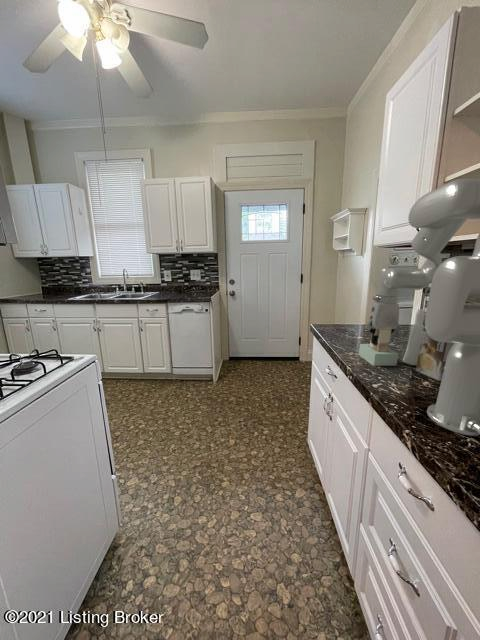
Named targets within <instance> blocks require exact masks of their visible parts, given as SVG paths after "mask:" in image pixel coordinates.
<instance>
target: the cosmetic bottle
mask: <svg viewBox="0 0 480 640" xmlns="http://www.w3.org/2000/svg"><path fill="white" fill-rule="evenodd" d="M425 315H426V310H425V309H417V311H416V313H415V320H414V323H413V324H412V326H411V331H410V335H409V338H408V343H407V345H406V351H405V353H404V355H403V359H402V362H403V363H404V364H408V365H410V366H417V360H418V355H419V350H420V345H421V339H422V334H423V331H424V329H425V324H424V322H425Z"/></svg>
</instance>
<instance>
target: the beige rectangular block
mask: <svg viewBox="0 0 480 640" xmlns="http://www.w3.org/2000/svg"><path fill="white" fill-rule="evenodd" d="M391 328H392V327H382V328H381V329H379V331H378V334H377V336H378V340H377V345H374V344H372V343H371V340H370V341H369V342H370V343H369V344H370V348H372V349H373V350H375V351H377V352H388V348H389V347H390V346H389V344H390V341H391V340H390V339H391V336H390V334H391ZM391 335H392V334H391ZM371 337H372V334H371ZM371 337H370V338H371Z"/></svg>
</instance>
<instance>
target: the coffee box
mask: <svg viewBox="0 0 480 640" xmlns="http://www.w3.org/2000/svg"><path fill="white" fill-rule="evenodd" d="M454 344H455V343H447V342H438V341H435V340H433V339H432V338H430V337H429V336H428V334H427V332H426V330H423V334H422V339H421V345H420V350H419V355H418V360H417V365H415V366H416V367H415V371H416V372H417V373H420V374H423V375H425V376H427V377H429V378H432V379H434V380H436V381H439V382H441V381H442V376H443V372H444V368H445V363H446V359H447V355H448V353H449V351H450V349H451V348H452V346H453V345H454Z"/></svg>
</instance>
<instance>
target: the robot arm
mask: <svg viewBox="0 0 480 640" xmlns="http://www.w3.org/2000/svg"><path fill="white" fill-rule="evenodd" d="M467 220H480V178H460V179H454V180H451V181H449V182H447V183H445V184H443V185H441V186H439V187H437V188H435V189H434V190H431V191H429V192H426V194H423V195H422V196H421V197H419V198H418V200H417V201H416V202H415V203H413V205H412V207H411V208H410V210H409V213H408V224H409V225H410V226H411V227H412V228H413V229H414V228H415V229H419V231H418V232H417V233H416V235H414V238H413V239H412V241H411V243H410V244H411V248H412V250H413V251H414V252H415V253H416V254H418V255H419V256H420V257H423V258H425V259H426V260H425V261H424V263H423V264H422V265H421V267H420V268H411V267H409V268H405V267H404V268H403V267H401V268H400V267H382V268H381V269H380V270H379V274H378V280H377V281H378V282H377V287H376V288H377V289H376V294H375V296H373V297H372V300H373V301H374V302H373V304H372V305H371V306H372V307H371V309H370V313H369V318H368V322H367V323H366V324H365V326H364V328H365V329H367V330H368V331H369V332H370V334H371V335H372V337H370V341H371V343H372V344H374V345H377V340H378V336H377V334H378V331H379V329H381V328H382V327H392V328H391V334H390V337H391V335H392V334H393V333H394V332H395V331H396V330H399V328H400V326H399V321H400V304H399V303H398V299H399V293H400V291H407V290H409V291H418V290H419V291H420V290H423V289H425V288H427V287H429V285H430V284H431V285H430V289H429V294H428V298H427V299H428V301H427V305H426V310H425V316H424V329H425V330H426V332H427V334H428V336H429V337H430V338H432V339H433V340H435V341H438V342H447V343H455V344H454V345H453V346H452V348H451V349H450V351H449V353H448V355H447V359H446V363H445V368H444V372H443V376H442V380H441V381H440V386H439V390H438V394H437V398H436V402H435V404H431V405H429V406H428V407H427V410H426V413H427V417H429V418H430V419H431V420H432V421H433V422H434V423H435V424H437V425H439V426H440V427H442V428H444V429H446V430H449V431H452V432H455V433H456V434H457V433H458V434H461V435H464V436H469V437H472V436H473V437H479V436H478V435H480V302H479V303H478V302H475V303H474V302H471V303H470V302H467V299H480V233H479V234H478V236H477V238H476V240H475V245H474V250H473V252H472V255H457V256H452V257H449V258H447V259H445V260H443V261H442V254H441V251H443V250H444V248H445V247H446V246H447V244H449V242H450V241H451V240H452V238H453V237H454V236H455V235H456V233H457V232H458V231H459V230H460V229H461V227H462V226H463V225H464V224H465V222H466V221H467ZM425 330H424V331H425Z"/></svg>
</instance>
